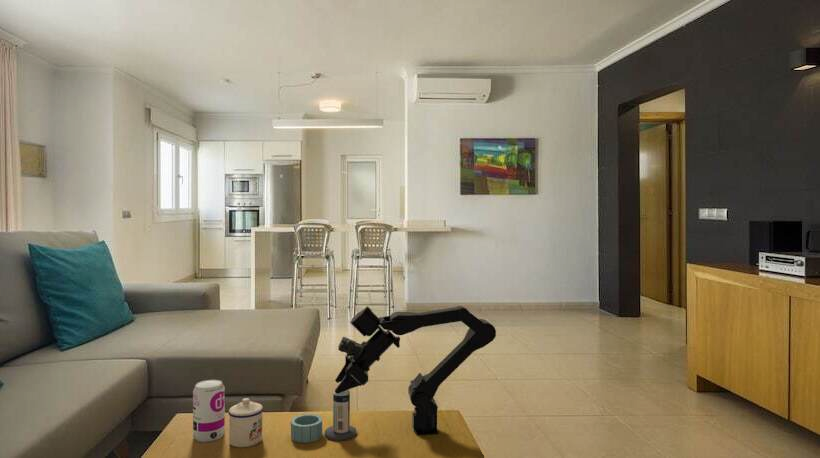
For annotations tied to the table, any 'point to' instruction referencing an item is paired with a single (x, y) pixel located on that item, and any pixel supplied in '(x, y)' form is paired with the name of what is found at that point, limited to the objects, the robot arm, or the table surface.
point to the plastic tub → (306, 428)
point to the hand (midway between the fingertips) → (336, 386)
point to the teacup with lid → (245, 423)
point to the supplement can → (208, 410)
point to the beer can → (341, 412)
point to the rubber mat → (340, 437)
